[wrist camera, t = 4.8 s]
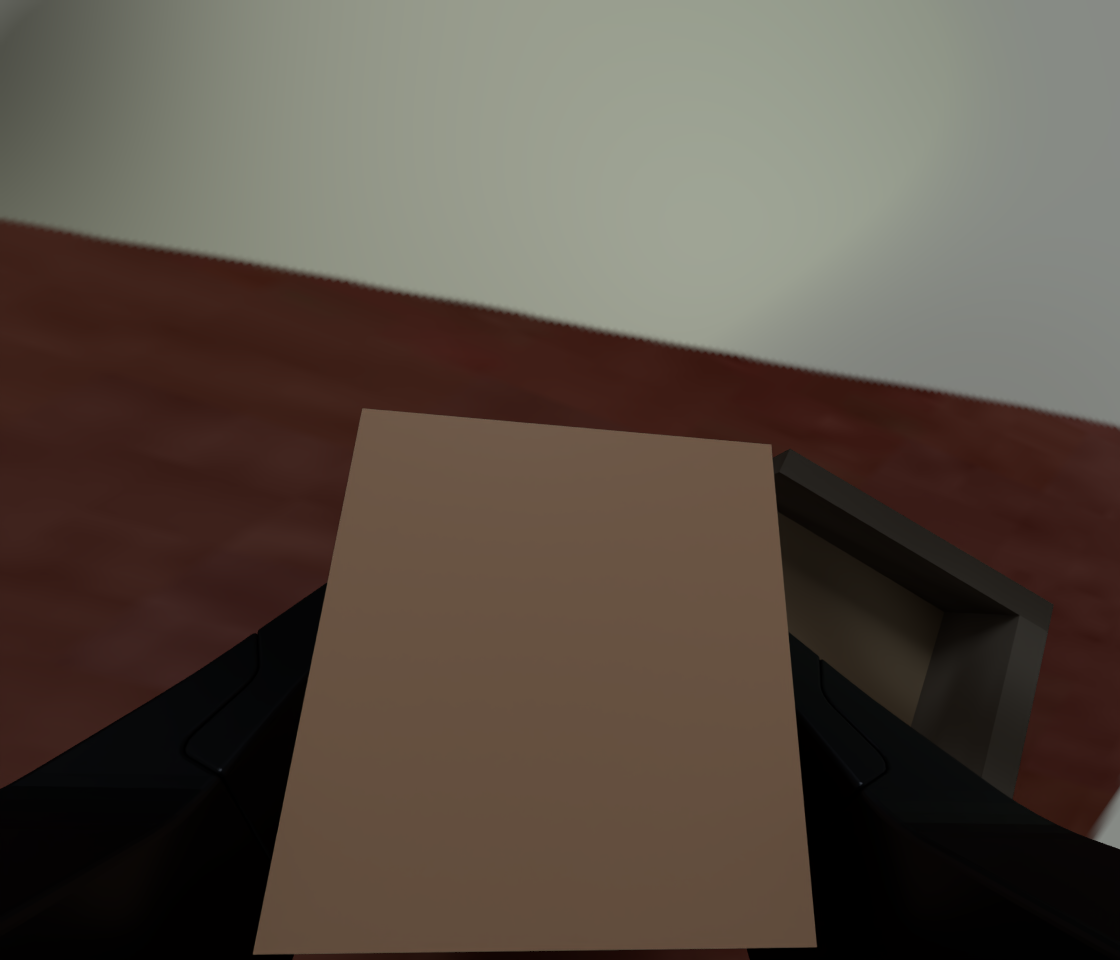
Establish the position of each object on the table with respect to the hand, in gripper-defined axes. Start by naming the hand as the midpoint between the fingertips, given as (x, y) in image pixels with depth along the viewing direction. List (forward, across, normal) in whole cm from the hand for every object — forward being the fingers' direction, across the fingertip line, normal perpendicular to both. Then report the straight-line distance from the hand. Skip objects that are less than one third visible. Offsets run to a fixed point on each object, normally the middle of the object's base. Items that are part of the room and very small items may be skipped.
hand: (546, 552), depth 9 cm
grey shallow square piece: (+3, -10, +6) cm, 12 cm away
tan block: (+4, 0, +6) cm, 7 cm away
